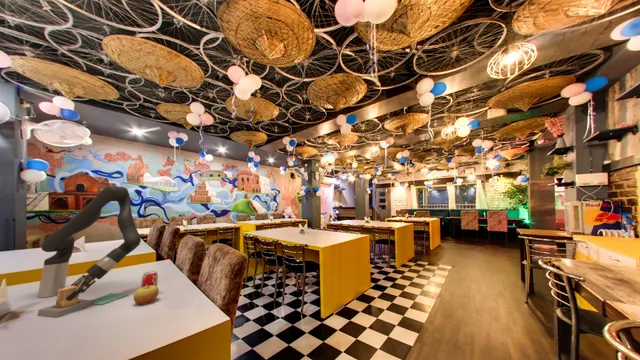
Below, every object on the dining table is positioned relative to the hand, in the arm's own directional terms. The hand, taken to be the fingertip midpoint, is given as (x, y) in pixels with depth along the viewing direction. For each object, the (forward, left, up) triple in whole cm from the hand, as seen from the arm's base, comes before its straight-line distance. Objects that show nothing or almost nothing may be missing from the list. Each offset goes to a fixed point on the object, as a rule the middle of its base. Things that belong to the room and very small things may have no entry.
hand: (65, 298), depth 99 cm
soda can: (+22, +22, -6) cm, 32 cm away
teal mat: (+5, +14, -6) cm, 16 cm away
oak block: (0, +1, -6) cm, 6 cm away
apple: (+30, +14, -6) cm, 34 cm away
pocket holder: (0, +1, -6) cm, 6 cm away
